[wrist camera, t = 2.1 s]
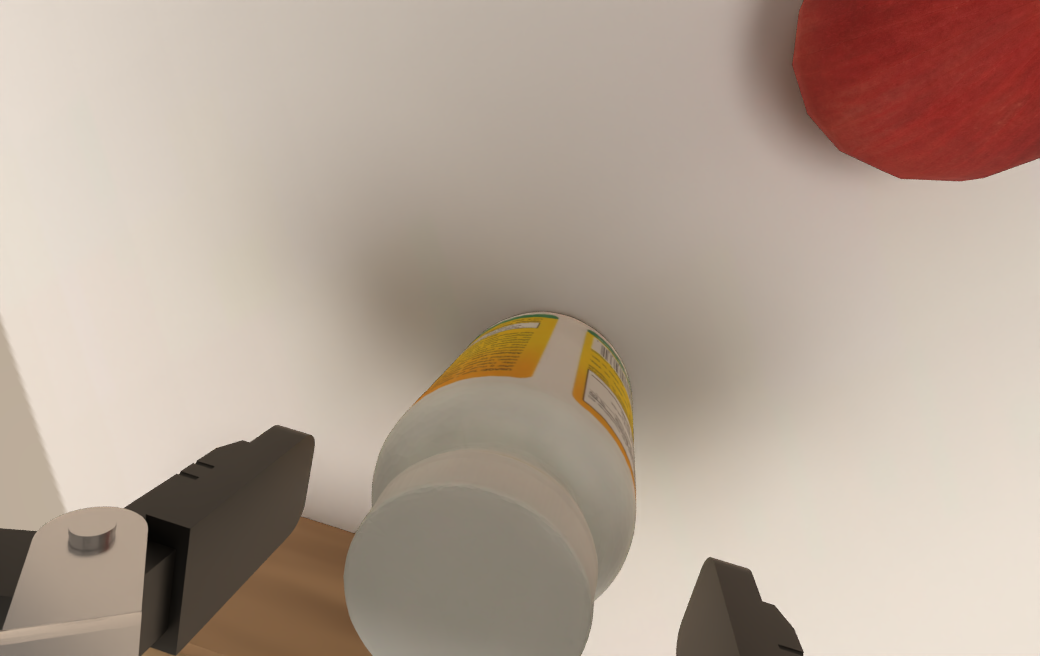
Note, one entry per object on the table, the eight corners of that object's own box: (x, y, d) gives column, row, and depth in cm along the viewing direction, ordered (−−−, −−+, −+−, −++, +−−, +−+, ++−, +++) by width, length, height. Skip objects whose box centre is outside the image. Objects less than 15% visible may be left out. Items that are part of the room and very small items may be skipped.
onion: (911, -131, 14) (1277, -515, 6) (1067, 56, 14) (1594, -89, 7) (712, 63, 15) (805, -53, 8) (857, 226, 16) (1082, 268, 8)
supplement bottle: (661, 351, 17) (709, 541, 8) (587, 499, 19) (559, 799, 10) (493, 278, 18) (358, 385, 9) (433, 430, 19) (265, 658, 10)
